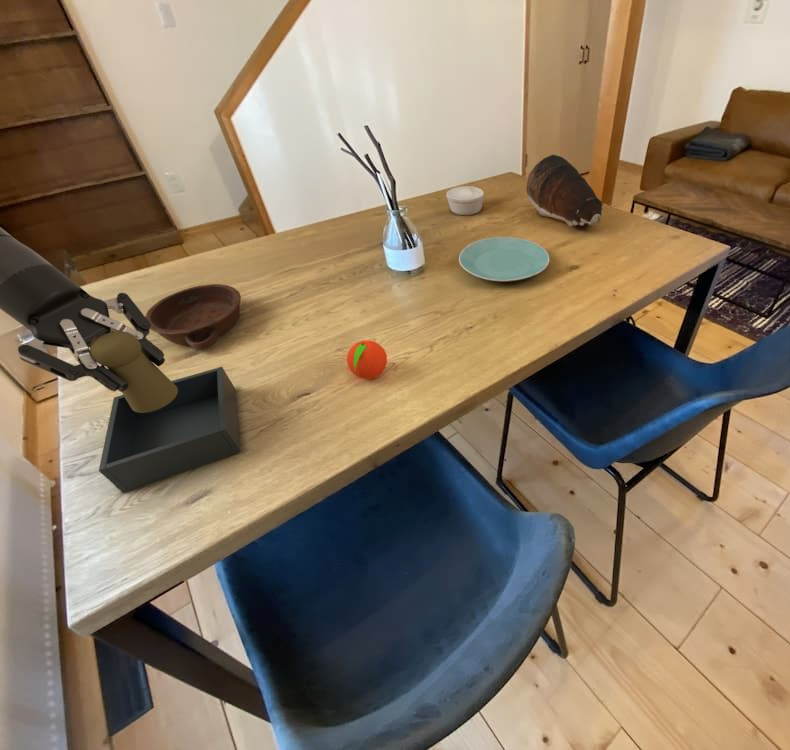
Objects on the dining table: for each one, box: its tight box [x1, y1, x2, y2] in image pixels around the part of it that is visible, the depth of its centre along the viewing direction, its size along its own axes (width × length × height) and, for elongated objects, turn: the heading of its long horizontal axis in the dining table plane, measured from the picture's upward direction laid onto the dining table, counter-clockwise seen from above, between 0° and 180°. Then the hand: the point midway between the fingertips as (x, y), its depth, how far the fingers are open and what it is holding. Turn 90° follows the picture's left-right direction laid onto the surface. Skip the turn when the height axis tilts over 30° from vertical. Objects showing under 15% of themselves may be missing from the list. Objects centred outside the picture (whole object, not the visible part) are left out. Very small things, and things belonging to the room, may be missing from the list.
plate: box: [458, 236, 550, 283], centre depth 107 cm, size 22×22×3 cm
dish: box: [144, 283, 242, 351], centre depth 90 cm, size 18×22×5 cm
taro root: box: [525, 154, 605, 227], centre depth 124 cm, size 15×15×25 cm
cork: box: [89, 331, 178, 413], centre depth 60 cm, size 6×6×11 cm
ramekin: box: [445, 185, 485, 216], centre depth 133 cm, size 11×11×5 cm
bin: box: [98, 366, 242, 494], centre depth 68 cm, size 16×16×6 cm
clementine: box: [346, 339, 388, 380], centre depth 77 cm, size 8×7×7 cm
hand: (143, 374), depth 60 cm, fingers closed on cork, 5 cm apart
